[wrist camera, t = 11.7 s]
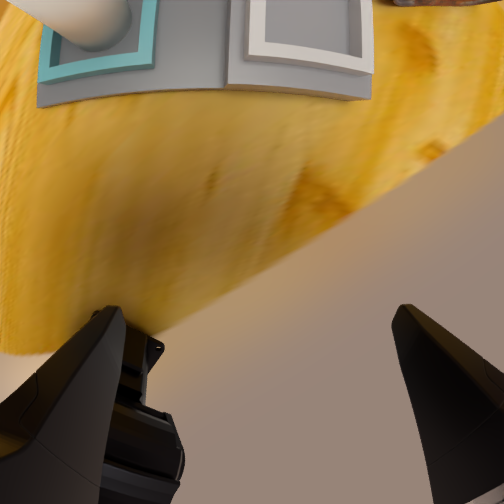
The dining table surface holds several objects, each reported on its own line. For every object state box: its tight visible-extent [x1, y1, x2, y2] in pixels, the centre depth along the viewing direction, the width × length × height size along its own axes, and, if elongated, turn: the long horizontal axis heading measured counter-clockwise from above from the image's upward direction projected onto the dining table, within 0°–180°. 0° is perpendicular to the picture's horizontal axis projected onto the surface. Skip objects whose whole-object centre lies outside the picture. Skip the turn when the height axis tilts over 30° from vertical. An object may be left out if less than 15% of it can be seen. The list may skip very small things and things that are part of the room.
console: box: [37, 0, 374, 108], centre depth 13 cm, size 21×10×4 cm, turn 88°
